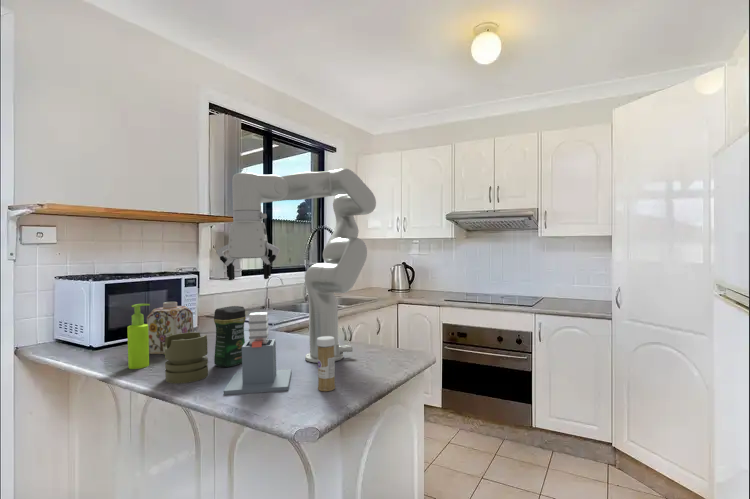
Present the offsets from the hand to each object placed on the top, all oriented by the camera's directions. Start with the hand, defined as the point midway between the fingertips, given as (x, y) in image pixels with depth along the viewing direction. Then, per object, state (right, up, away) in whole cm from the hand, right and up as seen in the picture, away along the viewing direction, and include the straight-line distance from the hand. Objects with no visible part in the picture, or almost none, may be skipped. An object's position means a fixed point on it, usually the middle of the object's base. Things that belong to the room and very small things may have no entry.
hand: (249, 279), depth 117 cm
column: (+4, -27, -2) cm, 28 cm away
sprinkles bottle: (+23, -28, -8) cm, 37 cm away
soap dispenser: (-41, -30, +18) cm, 54 cm away
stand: (+4, -28, -2) cm, 29 cm away
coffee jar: (-11, -29, +18) cm, 36 cm away
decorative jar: (-40, -30, +39) cm, 63 cm away
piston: (-20, -29, +5) cm, 36 cm away
